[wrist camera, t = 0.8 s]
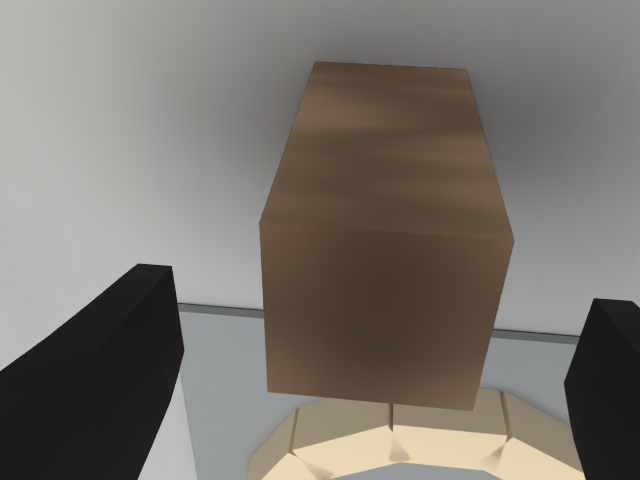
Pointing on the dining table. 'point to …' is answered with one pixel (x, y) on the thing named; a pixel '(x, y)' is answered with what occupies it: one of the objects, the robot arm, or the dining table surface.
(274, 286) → the wooden peg
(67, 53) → the dining table surface
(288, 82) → the dining table surface
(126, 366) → the robot arm
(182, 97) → the dining table surface
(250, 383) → the bead board
